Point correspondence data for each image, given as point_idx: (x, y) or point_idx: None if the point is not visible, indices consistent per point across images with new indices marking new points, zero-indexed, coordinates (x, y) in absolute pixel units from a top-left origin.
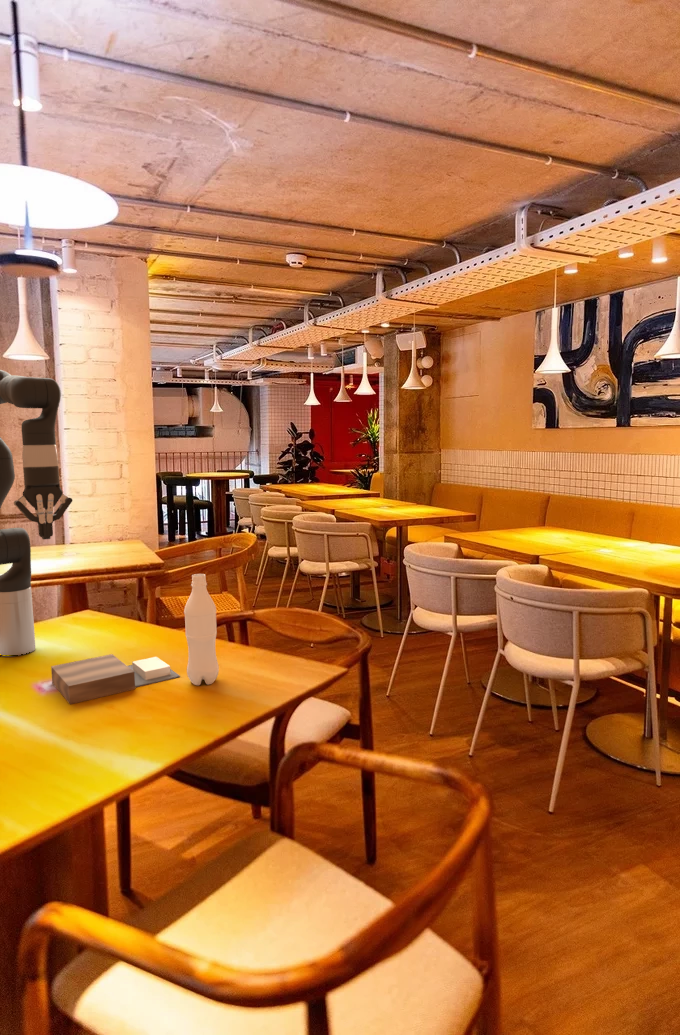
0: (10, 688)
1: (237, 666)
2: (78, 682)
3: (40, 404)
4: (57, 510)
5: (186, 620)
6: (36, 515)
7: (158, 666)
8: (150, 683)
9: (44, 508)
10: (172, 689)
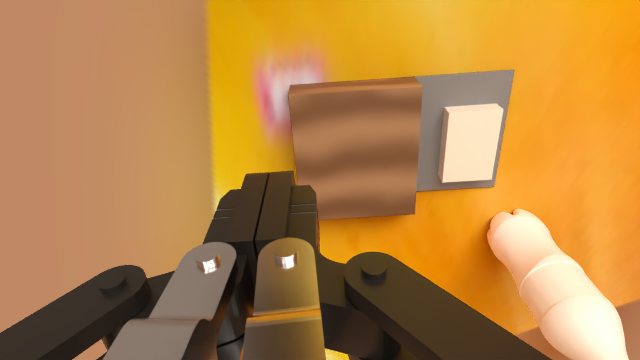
0: (212, 67)
1: (598, 191)
2: (319, 213)
3: None
4: (412, 343)
5: (535, 312)
6: (159, 309)
7: (474, 170)
8: (438, 189)
9: (244, 353)
10: (453, 227)
